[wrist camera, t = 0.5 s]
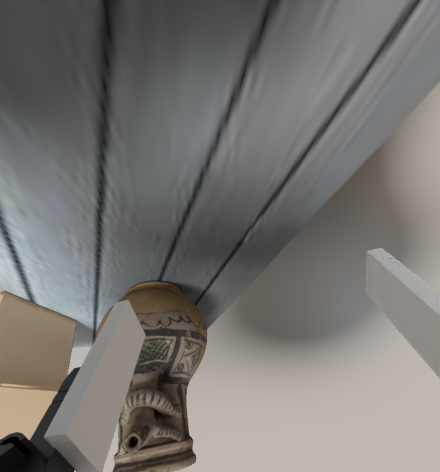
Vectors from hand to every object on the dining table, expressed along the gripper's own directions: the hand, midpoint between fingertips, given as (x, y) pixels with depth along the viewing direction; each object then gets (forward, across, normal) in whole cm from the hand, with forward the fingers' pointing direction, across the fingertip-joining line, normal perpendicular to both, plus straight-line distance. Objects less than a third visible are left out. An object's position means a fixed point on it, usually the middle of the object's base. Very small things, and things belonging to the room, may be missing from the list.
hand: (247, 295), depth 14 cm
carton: (+25, -43, -14) cm, 52 cm away
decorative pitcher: (+27, -18, -17) cm, 37 cm away
